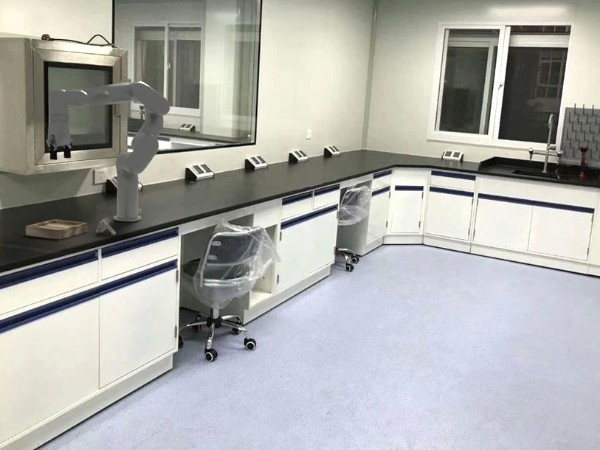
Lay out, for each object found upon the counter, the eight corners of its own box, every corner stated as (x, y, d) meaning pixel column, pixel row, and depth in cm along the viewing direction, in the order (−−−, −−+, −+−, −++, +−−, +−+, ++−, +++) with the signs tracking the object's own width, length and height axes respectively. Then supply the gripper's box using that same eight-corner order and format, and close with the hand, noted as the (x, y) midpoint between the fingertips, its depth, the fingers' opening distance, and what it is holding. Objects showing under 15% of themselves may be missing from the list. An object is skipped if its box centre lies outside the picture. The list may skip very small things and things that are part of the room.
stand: (94, 232, 252) (101, 218, 249) (103, 231, 256) (111, 217, 253) (105, 244, 250) (112, 230, 246) (114, 243, 254) (121, 229, 250)
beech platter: (54, 227, 258) (54, 219, 258) (87, 231, 254) (87, 223, 254) (25, 235, 241) (25, 226, 240) (60, 239, 237) (60, 230, 237)
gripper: (63, 118, 264) (64, 157, 268) (38, 118, 248) (40, 159, 251) (79, 119, 263) (79, 158, 266) (54, 119, 246) (56, 161, 250)
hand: (60, 159), depth 259 cm, fingers open, 9 cm apart
